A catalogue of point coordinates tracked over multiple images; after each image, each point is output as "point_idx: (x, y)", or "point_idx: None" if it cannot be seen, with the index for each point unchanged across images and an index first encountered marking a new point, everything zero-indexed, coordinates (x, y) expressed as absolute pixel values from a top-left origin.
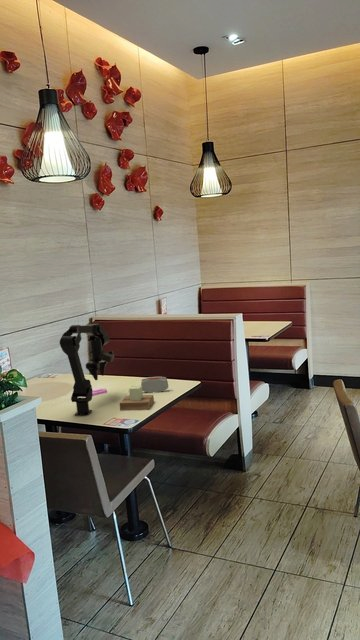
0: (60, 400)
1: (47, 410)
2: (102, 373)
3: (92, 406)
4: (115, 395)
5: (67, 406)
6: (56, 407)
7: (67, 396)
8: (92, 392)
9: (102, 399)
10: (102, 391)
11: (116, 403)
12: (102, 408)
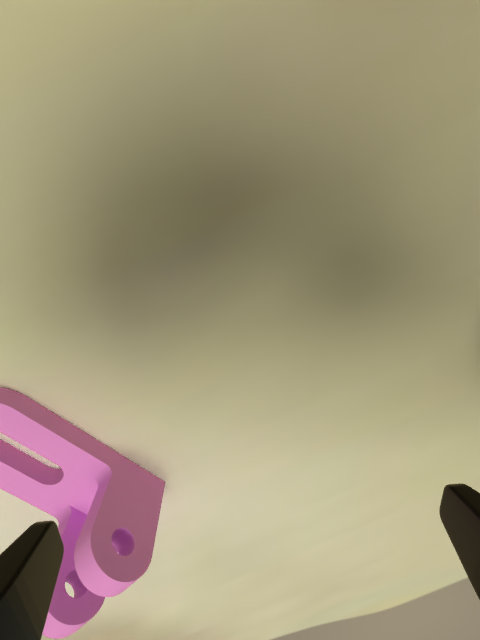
0: (238, 595)
1: (430, 572)
2: (36, 585)
3: (399, 334)
4: (68, 252)
5: (370, 507)
6: (380, 555)
7: (152, 597)
8: (77, 482)
9: (207, 331)
10: (26, 415)
11: (338, 120)
12: (475, 215)
